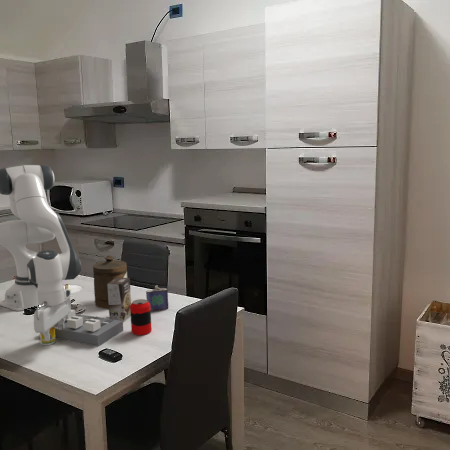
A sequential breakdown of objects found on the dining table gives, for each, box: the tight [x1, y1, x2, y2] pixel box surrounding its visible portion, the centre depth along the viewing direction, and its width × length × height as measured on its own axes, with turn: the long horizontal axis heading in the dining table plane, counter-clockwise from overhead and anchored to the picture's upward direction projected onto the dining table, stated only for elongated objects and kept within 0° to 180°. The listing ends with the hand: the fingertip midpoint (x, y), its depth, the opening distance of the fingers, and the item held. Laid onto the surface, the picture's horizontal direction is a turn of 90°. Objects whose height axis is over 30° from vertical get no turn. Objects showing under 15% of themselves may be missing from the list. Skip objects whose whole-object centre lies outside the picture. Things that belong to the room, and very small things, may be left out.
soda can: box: [130, 298, 152, 336], centre depth 186 cm, size 8×8×12 cm
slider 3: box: [84, 319, 101, 332], centre depth 178 cm, size 4×4×3 cm
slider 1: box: [65, 309, 76, 321], centre depth 189 cm, size 4×4×3 cm
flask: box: [145, 284, 169, 312], centre depth 209 cm, size 9×3×11 cm, turn 104°
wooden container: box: [92, 255, 128, 310], centre depth 218 cm, size 15×15×22 cm
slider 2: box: [67, 316, 83, 329], centre depth 181 cm, size 4×4×3 cm
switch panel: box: [55, 313, 124, 347], centre depth 187 cm, size 32×15×4 cm, turn 66°
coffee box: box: [107, 277, 132, 323], centre depth 200 cm, size 9×6×16 cm
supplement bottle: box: [39, 325, 57, 346], centre depth 178 cm, size 5×5×10 cm
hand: (54, 334), depth 172 cm, fingers open, 8 cm apart
